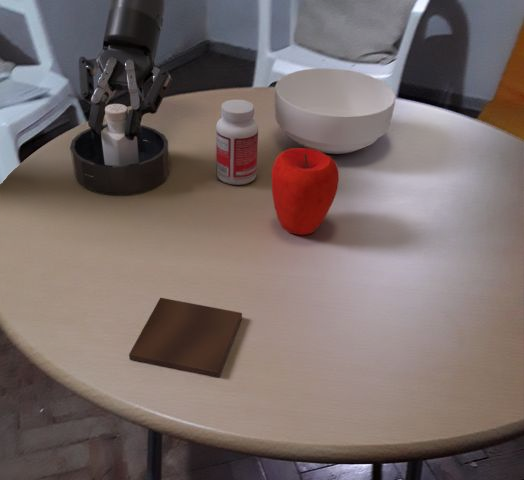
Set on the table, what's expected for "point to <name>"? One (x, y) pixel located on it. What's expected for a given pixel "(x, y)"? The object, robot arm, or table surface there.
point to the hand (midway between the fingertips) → (112, 134)
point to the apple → (303, 188)
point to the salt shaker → (118, 138)
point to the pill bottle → (237, 143)
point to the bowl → (333, 109)
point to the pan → (120, 176)
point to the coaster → (187, 337)
